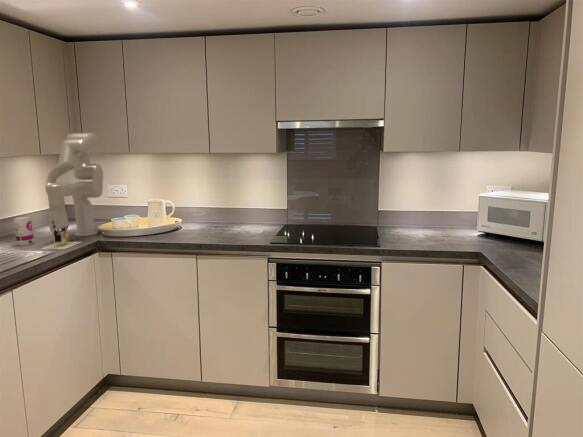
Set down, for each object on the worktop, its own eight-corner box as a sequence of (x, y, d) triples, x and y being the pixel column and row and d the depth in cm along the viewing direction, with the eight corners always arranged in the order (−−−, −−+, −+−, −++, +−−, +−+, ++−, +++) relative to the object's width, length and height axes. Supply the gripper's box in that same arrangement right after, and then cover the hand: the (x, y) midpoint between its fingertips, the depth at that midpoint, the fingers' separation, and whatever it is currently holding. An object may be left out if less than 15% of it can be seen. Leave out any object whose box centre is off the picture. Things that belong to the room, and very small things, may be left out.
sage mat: (59, 242, 251) (59, 241, 251) (82, 242, 249) (82, 241, 249) (40, 249, 235) (40, 248, 235) (65, 249, 233) (64, 248, 233)
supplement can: (37, 242, 251) (33, 216, 248) (29, 246, 243) (25, 219, 240) (22, 243, 251) (18, 216, 248) (14, 246, 243) (10, 219, 240)
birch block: (60, 240, 244) (58, 230, 243) (68, 240, 244) (67, 230, 243) (54, 243, 240) (53, 232, 238) (63, 243, 239) (61, 232, 238)
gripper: (60, 204, 247) (64, 237, 250) (40, 210, 230) (44, 244, 234) (73, 204, 246) (77, 237, 249) (53, 209, 229) (58, 244, 233)
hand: (61, 240), depth 242 cm, fingers closed on birch block, 5 cm apart
